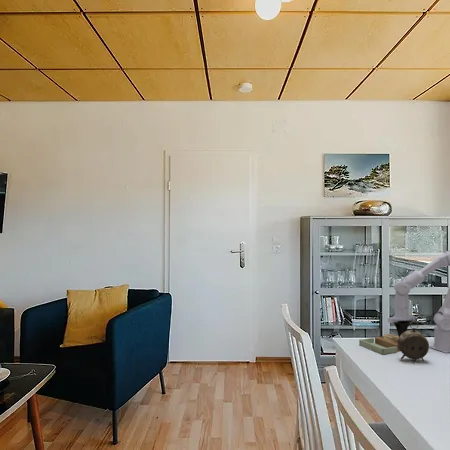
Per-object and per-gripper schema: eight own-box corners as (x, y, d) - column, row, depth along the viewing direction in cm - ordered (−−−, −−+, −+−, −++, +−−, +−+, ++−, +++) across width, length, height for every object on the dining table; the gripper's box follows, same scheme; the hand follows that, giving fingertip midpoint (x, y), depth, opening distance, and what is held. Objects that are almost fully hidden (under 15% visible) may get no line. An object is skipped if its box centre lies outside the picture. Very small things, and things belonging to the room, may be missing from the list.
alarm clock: (424, 359, 154) (425, 319, 154) (430, 364, 148) (431, 323, 148) (397, 358, 155) (397, 318, 155) (401, 363, 149) (402, 322, 150)
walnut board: (389, 341, 177) (389, 335, 177) (410, 349, 166) (410, 342, 166) (374, 343, 174) (374, 337, 174) (395, 352, 163) (395, 345, 163)
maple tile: (391, 338, 172) (391, 333, 172) (399, 341, 168) (399, 336, 168) (383, 339, 171) (383, 334, 171) (391, 342, 167) (391, 337, 167)
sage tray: (372, 343, 175) (372, 337, 175) (397, 352, 162) (397, 346, 162) (359, 345, 172) (359, 339, 172) (382, 355, 159) (382, 349, 159)
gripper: (406, 304, 178) (406, 333, 178) (382, 306, 173) (382, 336, 173) (418, 307, 172) (418, 337, 172) (395, 310, 166) (394, 340, 166)
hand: (401, 337), depth 172 cm, fingers closed
